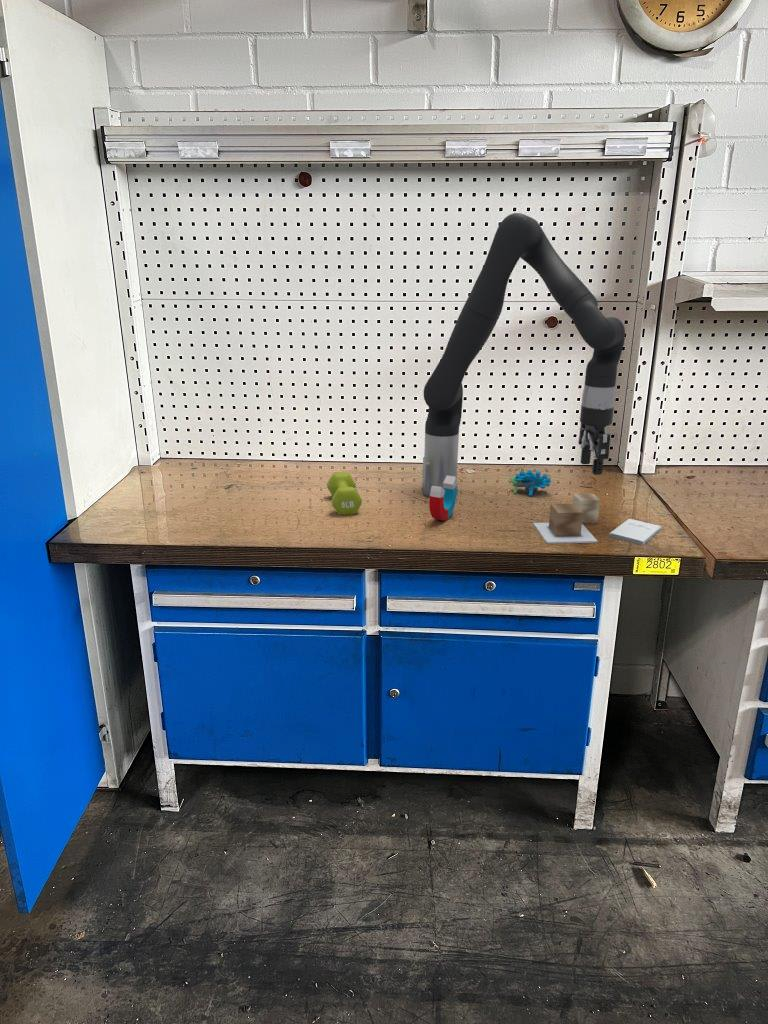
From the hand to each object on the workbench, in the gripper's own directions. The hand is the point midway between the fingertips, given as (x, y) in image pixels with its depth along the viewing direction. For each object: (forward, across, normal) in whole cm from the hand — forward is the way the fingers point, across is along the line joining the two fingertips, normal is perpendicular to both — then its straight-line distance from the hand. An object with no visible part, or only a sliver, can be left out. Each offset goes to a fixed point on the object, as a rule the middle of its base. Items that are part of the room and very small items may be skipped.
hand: (590, 469), depth 171 cm
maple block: (+13, 0, 0) cm, 13 cm away
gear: (+13, -21, -9) cm, 26 cm away
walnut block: (+13, +9, -8) cm, 18 cm away
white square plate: (+13, +9, -8) cm, 18 cm away
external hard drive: (+14, +10, +9) cm, 19 cm away
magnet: (+13, -2, -36) cm, 39 cm away
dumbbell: (+13, -13, -61) cm, 64 cm away
